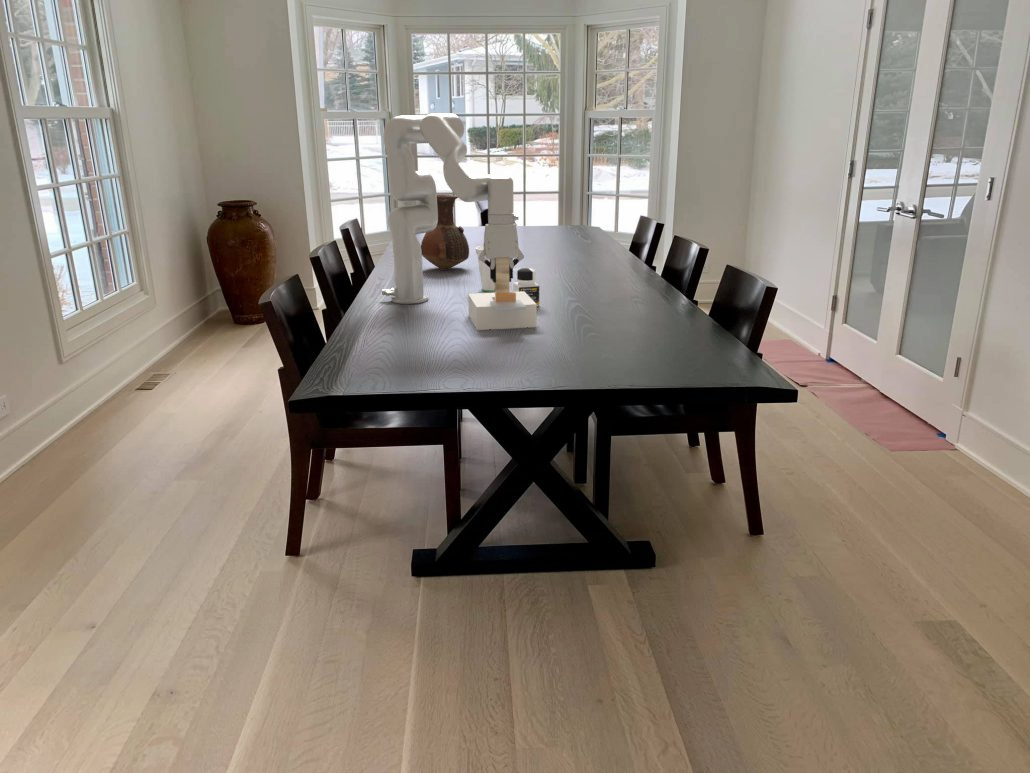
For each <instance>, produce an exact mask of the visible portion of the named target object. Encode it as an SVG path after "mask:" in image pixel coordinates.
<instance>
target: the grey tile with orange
mask: <svg viewBox="0 0 1030 773" xmlns="http://www.w3.org/2000/svg"><path fill="white" fill-rule="evenodd" d="M494 293H495V301H490V304H491V306H492V307H493V308H494V310H495V311H505V310H526V306H525V305H524V304H523V303H522V302H521V301H520V300H516V293H515V292H513V291H510V292H506V293H496V292H494Z"/></svg>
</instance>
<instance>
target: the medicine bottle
mask: <svg viewBox="0 0 1030 773" xmlns="http://www.w3.org/2000/svg"><path fill="white" fill-rule="evenodd" d="M516 272H517V273H516V276H517V278H516V279H517V281H514V282H513V291H512V292H520V291H524V292H525V293H526V294H527V295H528V296H529V297H530V298H531V299H532V300H533V301H534V302H535V303H536V304H537V305H539V306H540V285H539V284H538V283H536V270H535V269H534V268H529V267H523V268H520V269H518V270H517V271H516Z"/></svg>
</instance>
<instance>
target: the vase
mask: <svg viewBox="0 0 1030 773" xmlns="http://www.w3.org/2000/svg"><path fill="white" fill-rule="evenodd" d="M457 199H459V198H458V197H457V196H456V195H455V194H437V209H438V222H437V226H436V228H435V229H434V230H433V231H431V232H427V233H424V236H423V237H422V240H421V243H420V245H421V250H422V258H423V259H425V260H426V261H428V262H429V263H431V264H432V265H433V266H435V267H437V268H438V269H439V270H442V271H448V270H449V269H452V268H453V267H455V266H458V265H460V264H461V263H463V262H465V261H467V259H469V256H470V246H469V242H468V239H467V237H466V235H465V234H464V232H465V230H464V228H463V227H462V226H461V225H459V226H456V225H455V221H454V220H455V219H454V205H455V202H456V200H457Z"/></svg>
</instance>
